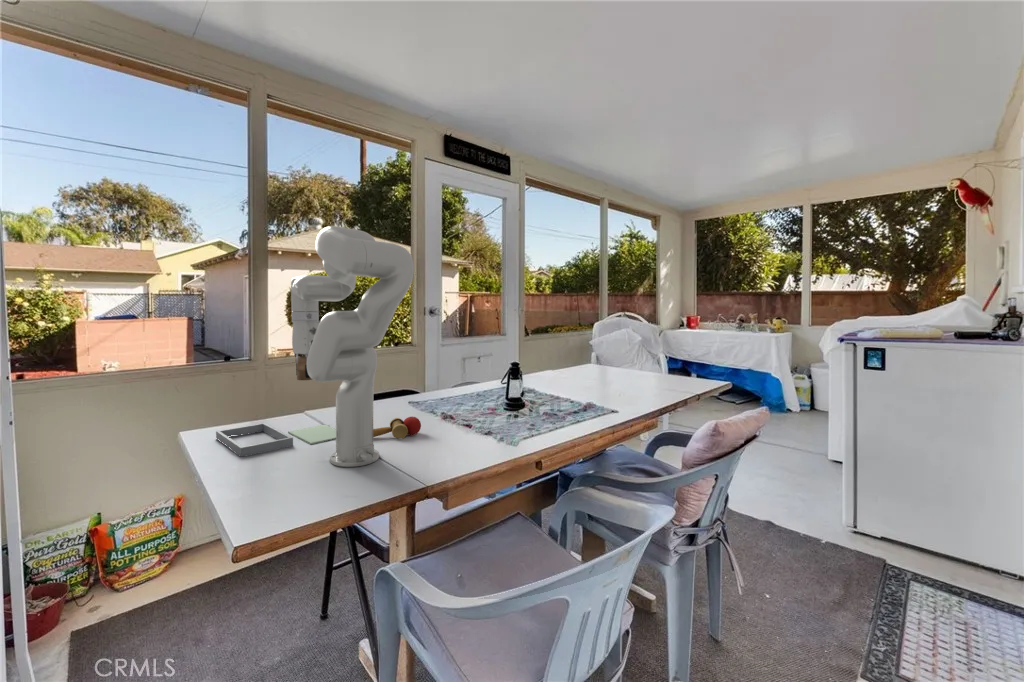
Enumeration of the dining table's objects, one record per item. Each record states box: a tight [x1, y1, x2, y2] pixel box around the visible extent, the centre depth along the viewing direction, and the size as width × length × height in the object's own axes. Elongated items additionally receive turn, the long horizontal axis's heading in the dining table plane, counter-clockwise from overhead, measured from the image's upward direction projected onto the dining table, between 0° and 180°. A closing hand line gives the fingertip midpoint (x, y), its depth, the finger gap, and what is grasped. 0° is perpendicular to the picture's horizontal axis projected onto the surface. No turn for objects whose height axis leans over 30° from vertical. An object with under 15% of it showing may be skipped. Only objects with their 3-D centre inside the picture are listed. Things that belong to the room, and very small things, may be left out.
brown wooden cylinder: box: [296, 355, 314, 381], centre depth 138 cm, size 5×5×7 cm
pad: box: [287, 424, 336, 445], centre depth 142 cm, size 16×12×1 cm
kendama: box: [373, 416, 422, 439], centre depth 142 cm, size 8×6×18 cm
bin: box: [215, 422, 294, 457], centre depth 132 cm, size 22×14×2 cm, turn 48°
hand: (306, 375), depth 138 cm, fingers closed on brown wooden cylinder, 5 cm apart
